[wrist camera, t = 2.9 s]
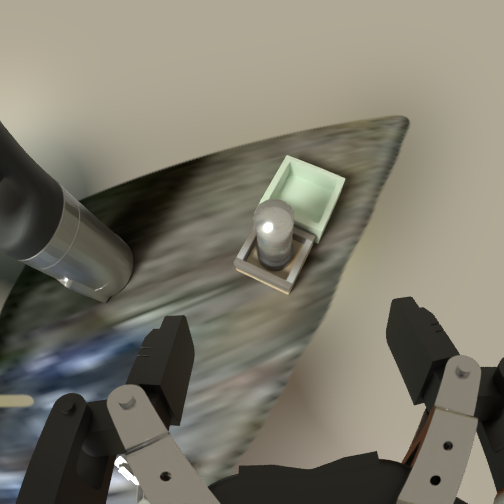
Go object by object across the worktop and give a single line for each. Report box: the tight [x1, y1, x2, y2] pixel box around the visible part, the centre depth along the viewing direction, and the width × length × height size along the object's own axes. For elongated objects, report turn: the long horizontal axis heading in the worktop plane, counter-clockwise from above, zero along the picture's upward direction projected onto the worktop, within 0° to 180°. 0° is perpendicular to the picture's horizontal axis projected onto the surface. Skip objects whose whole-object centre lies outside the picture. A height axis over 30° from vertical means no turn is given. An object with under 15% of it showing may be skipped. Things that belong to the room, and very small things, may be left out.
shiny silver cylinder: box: [254, 199, 294, 271], centre depth 34 cm, size 4×4×11 cm
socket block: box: [234, 225, 315, 295], centre depth 39 cm, size 7×7×3 cm
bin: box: [259, 155, 345, 244], centre depth 41 cm, size 9×9×4 cm
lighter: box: [115, 454, 150, 504], centre depth 28 cm, size 7×2×8 cm, turn 50°
